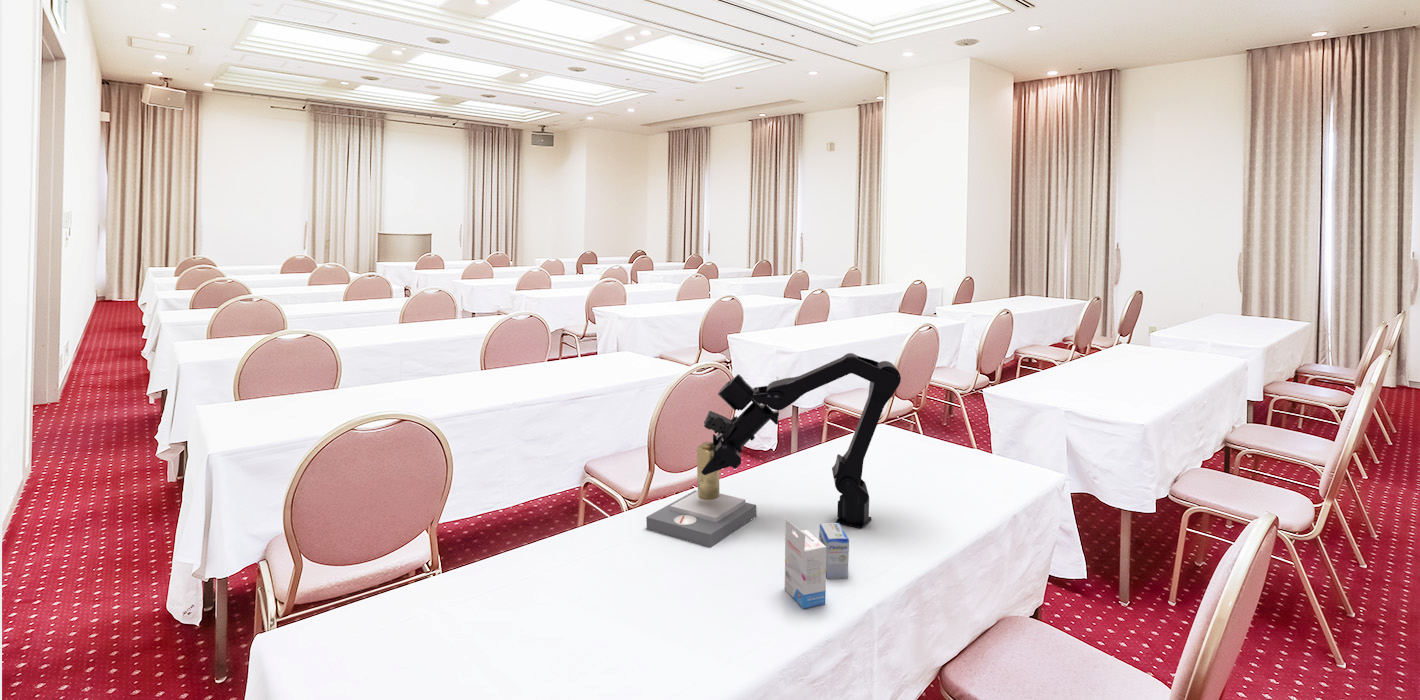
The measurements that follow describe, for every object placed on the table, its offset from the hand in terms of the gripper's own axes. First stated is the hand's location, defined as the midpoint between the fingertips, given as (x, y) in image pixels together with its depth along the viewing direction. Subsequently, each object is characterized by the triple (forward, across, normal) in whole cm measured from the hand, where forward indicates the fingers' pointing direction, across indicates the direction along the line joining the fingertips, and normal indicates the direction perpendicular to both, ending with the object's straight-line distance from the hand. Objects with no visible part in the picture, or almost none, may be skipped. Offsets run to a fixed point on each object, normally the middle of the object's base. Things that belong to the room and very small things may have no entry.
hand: (702, 469), depth 178 cm
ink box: (-4, +37, +22) cm, 44 cm away
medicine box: (-9, +27, +28) cm, 40 cm away
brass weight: (+4, 0, +6) cm, 7 cm away
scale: (+9, +2, +9) cm, 13 cm away
